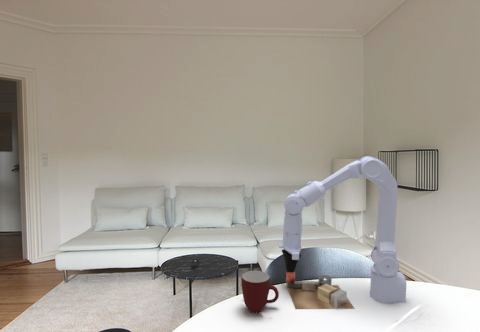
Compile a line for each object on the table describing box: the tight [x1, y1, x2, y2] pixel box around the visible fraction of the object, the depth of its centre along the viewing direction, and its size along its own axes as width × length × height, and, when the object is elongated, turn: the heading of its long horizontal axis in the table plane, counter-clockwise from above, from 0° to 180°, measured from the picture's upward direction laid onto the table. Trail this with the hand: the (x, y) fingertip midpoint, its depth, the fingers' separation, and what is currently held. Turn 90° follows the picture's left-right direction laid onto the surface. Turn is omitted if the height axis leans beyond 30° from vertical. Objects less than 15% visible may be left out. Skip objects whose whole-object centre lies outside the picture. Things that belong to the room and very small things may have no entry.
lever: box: [285, 270, 332, 291], centre depth 104 cm, size 14×5×5 cm, turn 86°
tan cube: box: [318, 284, 337, 304], centre depth 97 cm, size 4×4×4 cm
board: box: [286, 284, 356, 310], centre depth 99 cm, size 17×15×1 cm
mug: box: [240, 270, 280, 315], centre depth 92 cm, size 11×8×10 cm
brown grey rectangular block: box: [330, 288, 348, 310], centre depth 94 cm, size 5×2×4 cm, turn 130°
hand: (289, 273), depth 105 cm, fingers closed, pressing on lever
